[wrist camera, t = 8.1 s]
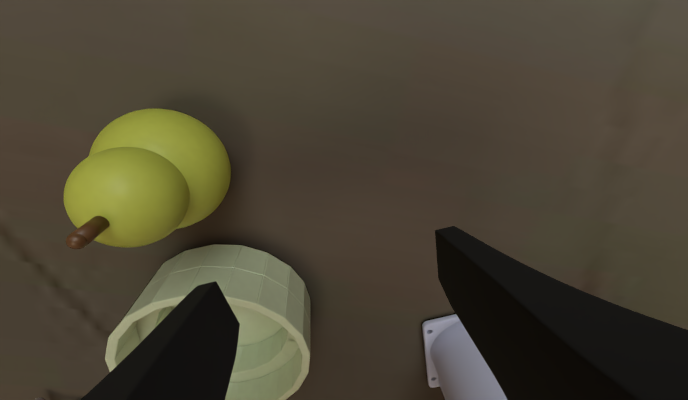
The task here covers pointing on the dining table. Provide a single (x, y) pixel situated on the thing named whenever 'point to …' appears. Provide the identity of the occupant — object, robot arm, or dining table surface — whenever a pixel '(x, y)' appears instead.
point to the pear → (146, 179)
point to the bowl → (249, 308)
